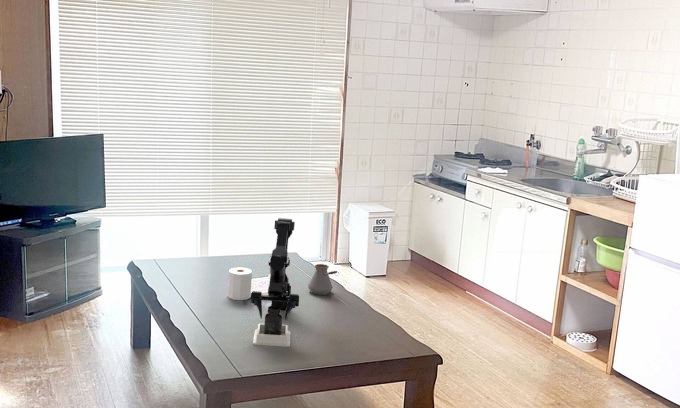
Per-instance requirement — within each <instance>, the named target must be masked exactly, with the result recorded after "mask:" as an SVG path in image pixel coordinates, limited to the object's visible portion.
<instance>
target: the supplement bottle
mask: <svg viewBox="0 0 680 408" xmlns="http://www.w3.org/2000/svg"><path fill="white" fill-rule="evenodd" d="M263 324H264V334H267V335H281V334H282V325H283V315H282V313H281V310H280V307H278V306H271V305H270V306H268V307H267V312H266V314H265V315H264V323H263Z"/></svg>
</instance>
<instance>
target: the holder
mask: <svg viewBox="0 0 680 408" xmlns="http://www.w3.org/2000/svg"><path fill="white" fill-rule="evenodd" d="M264 324H265V323H258V324H257V329H254V335H253V341H252V346H270V347H271V346H272V347H285V348H286V347H287V348H288V347H290V346H291V330H288V329H289V325H288V324H282V334H281V335H267V334H264Z"/></svg>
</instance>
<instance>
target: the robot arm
mask: <svg viewBox="0 0 680 408" xmlns="http://www.w3.org/2000/svg"><path fill="white" fill-rule="evenodd" d="M295 224H296V222H295V221H293V218H283V217H278V219H277V220H274V227H273V229H274V230H275V233H276V243H275V248H274V249H273V250H272V251H271V255H270V256H269V258H268V266H269V274H270V276H269V284H268V289H267V294H268V295H267V294H266V295H265V294H262V291H258V290H257V291H255V290H253V291H251V297H250V303H251V304H253V305H254V306H256V308H257V310H258V312H259V317H260V319H262V318H263V305H262V304H263V303H262V301H271V303H270V304H271V305H270V306H278V307H280V312H281V311H282V312H284V311H285V314H284V321H286V320H287V319H288V316H289V314H290V313H291V311H292V310H293V309H295V308H296V307H299V305H300V294H297V293H296V294H295V293H292V286H291V285H290V284H291V283H290V282H289V277H288V275H287V273H286V272H287V271H286V270H287V268H288V267H289V266H290V264H291V260H290V258H289V257H288V253H289V252H288V248H289V247H288V246H289V239H290V238H291V236H292V235H293V231H295Z"/></svg>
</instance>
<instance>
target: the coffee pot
mask: <svg viewBox="0 0 680 408" xmlns="http://www.w3.org/2000/svg"><path fill="white" fill-rule="evenodd" d="M314 268H315V272H314V273H313V275H312V277H311V279H310V281H309V282H308V284H307V288H308V290H309V291H311V293H312V294H314V295H317V296H325V295H328V294H329V293H330V292H331V291H332V289H333V284H332V281H331V277H330V275H333V274H334V275H335V276H339V274H340V272H338V270H333V271H332V270H331V271H329V272H328V269H329V268H330V267H329V265H328V264H323V263H319V264H318V263H317V264H315V265H314ZM337 273H338V275H337Z"/></svg>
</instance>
